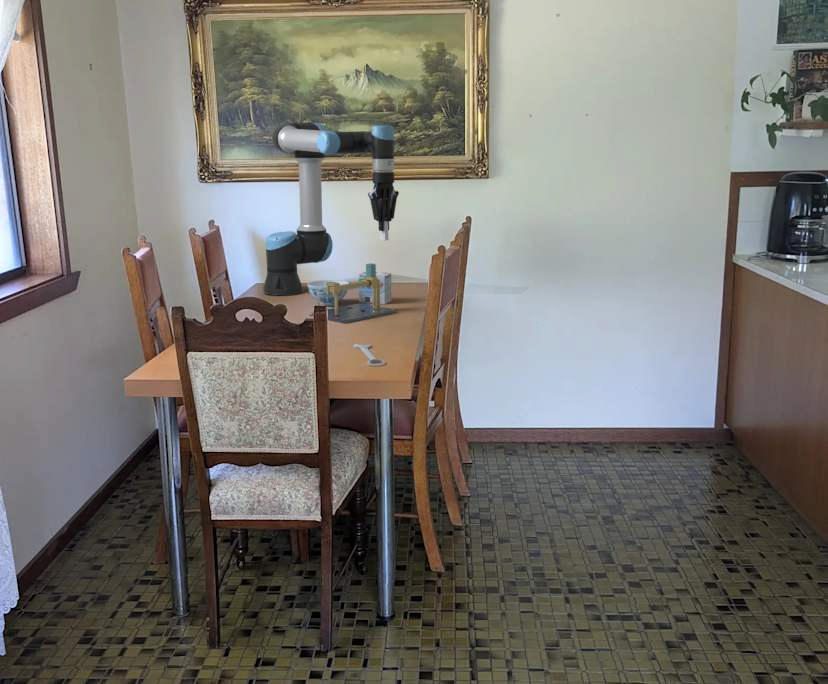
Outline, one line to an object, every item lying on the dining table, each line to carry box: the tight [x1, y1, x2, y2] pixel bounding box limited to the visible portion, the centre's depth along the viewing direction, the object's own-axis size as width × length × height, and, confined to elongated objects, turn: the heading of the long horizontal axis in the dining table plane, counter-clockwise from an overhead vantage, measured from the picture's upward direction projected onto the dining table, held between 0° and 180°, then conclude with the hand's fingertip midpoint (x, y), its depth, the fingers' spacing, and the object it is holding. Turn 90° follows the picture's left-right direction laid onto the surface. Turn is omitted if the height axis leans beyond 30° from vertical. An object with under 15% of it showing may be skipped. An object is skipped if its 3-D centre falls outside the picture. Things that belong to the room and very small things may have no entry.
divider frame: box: [326, 279, 381, 316], centre depth 295 cm, size 4×22×11 cm, turn 136°
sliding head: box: [365, 262, 377, 308], centre depth 299 cm, size 4×2×15 cm, turn 46°
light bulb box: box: [358, 271, 393, 305], centre depth 316 cm, size 11×7×11 cm, turn 70°
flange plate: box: [311, 302, 397, 324], centre depth 295 cm, size 18×24×1 cm
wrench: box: [352, 343, 386, 367], centre depth 241 cm, size 25×2×5 cm
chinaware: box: [307, 279, 349, 307], centre depth 312 cm, size 15×15×8 cm
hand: (384, 239), depth 300 cm, fingers closed
